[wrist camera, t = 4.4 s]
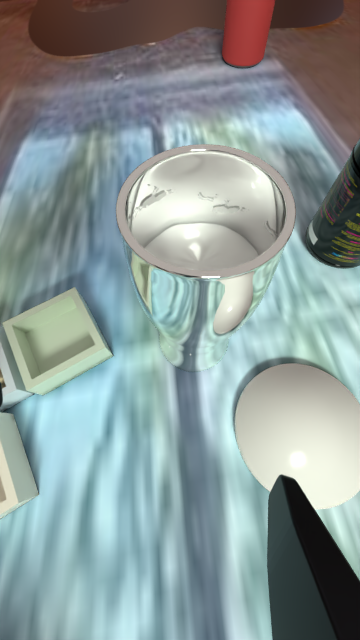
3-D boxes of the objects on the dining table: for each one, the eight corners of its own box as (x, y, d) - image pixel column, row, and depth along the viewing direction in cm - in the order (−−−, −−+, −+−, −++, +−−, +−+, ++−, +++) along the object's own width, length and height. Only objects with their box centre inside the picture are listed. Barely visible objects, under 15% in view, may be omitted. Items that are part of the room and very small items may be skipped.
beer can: (269, 66, 41) (299, -69, 30) (229, 73, 40) (245, -62, 29) (254, 46, 44) (277, -85, 33) (216, 52, 43) (226, -79, 32)
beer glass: (157, 302, 25) (121, 139, 11) (231, 304, 25) (289, 140, 11) (151, 376, 22) (94, 281, 8) (235, 379, 22) (319, 285, 8)
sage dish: (43, 395, 22) (26, 390, 19) (19, 333, 24) (2, 322, 22) (113, 356, 23) (105, 347, 21) (84, 300, 25) (74, 287, 23)
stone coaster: (293, 540, 17) (296, 544, 17) (209, 406, 21) (210, 405, 20) (397, 453, 19) (403, 454, 19) (304, 344, 23) (307, 341, 22)
